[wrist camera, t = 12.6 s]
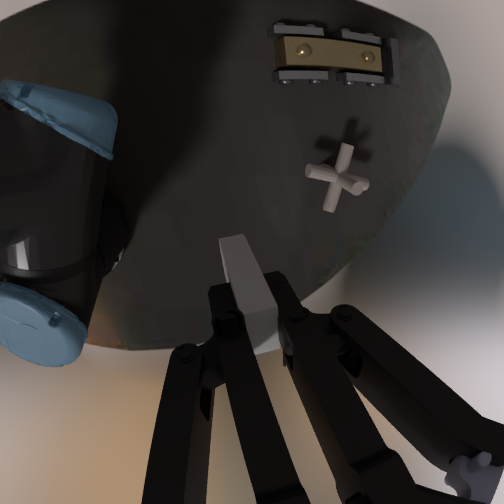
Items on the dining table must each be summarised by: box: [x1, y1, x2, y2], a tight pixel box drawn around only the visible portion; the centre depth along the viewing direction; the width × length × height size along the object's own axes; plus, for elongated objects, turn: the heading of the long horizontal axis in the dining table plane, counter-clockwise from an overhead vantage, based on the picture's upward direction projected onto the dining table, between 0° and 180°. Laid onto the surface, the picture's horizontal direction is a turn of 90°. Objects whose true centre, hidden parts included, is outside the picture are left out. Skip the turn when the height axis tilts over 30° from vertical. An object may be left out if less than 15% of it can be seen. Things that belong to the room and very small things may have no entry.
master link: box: [274, 36, 382, 72], centre depth 31 cm, size 15×4×5 cm, turn 96°
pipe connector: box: [305, 143, 369, 212], centre depth 38 cm, size 10×10×10 cm
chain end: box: [267, 22, 328, 84], centre depth 31 cm, size 7×9×3 cm
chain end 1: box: [332, 28, 401, 87], centre depth 32 cm, size 9×9×4 cm
